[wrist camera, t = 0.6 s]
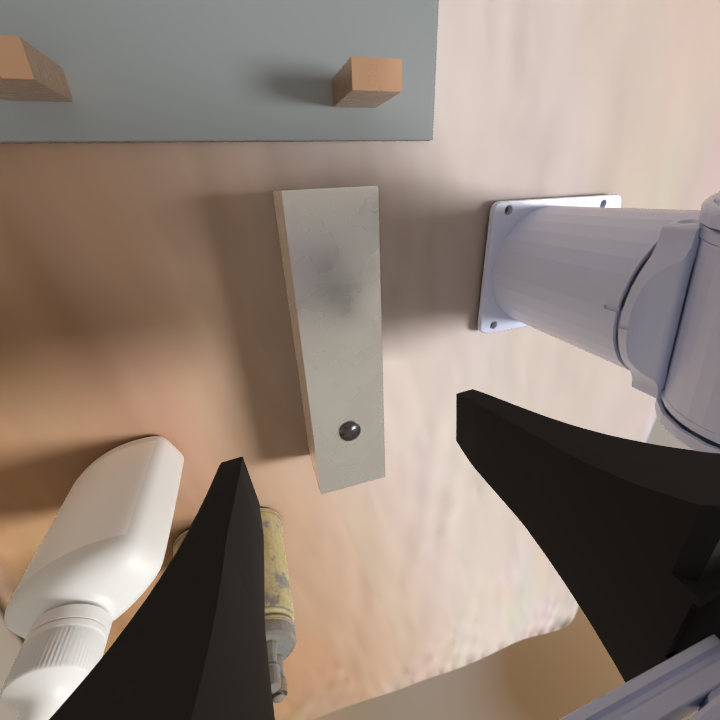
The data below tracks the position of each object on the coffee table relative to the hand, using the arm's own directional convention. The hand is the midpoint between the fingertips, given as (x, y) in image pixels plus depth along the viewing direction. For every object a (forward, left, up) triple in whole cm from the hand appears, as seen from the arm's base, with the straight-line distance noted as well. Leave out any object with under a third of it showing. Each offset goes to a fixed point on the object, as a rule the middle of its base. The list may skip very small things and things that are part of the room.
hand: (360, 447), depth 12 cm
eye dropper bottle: (+11, +6, -11) cm, 16 cm away
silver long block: (-1, 0, -11) cm, 11 cm away
